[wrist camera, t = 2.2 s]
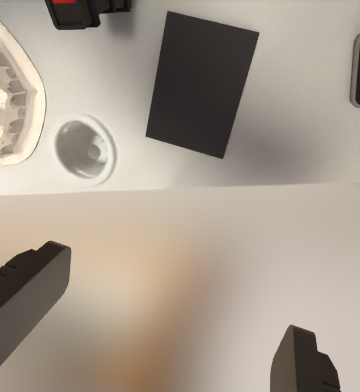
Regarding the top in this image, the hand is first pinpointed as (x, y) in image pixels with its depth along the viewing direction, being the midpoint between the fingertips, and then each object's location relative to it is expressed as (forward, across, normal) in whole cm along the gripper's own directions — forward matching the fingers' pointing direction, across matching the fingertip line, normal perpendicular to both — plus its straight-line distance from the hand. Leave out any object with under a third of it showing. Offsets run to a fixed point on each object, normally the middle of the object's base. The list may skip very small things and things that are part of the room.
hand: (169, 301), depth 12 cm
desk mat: (+30, +6, -3) cm, 31 cm away
